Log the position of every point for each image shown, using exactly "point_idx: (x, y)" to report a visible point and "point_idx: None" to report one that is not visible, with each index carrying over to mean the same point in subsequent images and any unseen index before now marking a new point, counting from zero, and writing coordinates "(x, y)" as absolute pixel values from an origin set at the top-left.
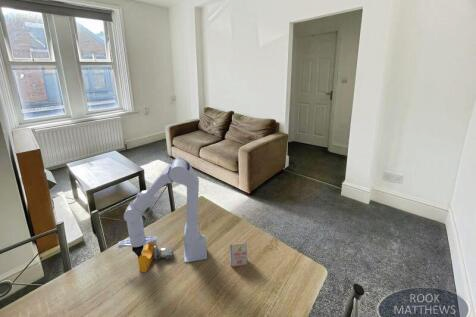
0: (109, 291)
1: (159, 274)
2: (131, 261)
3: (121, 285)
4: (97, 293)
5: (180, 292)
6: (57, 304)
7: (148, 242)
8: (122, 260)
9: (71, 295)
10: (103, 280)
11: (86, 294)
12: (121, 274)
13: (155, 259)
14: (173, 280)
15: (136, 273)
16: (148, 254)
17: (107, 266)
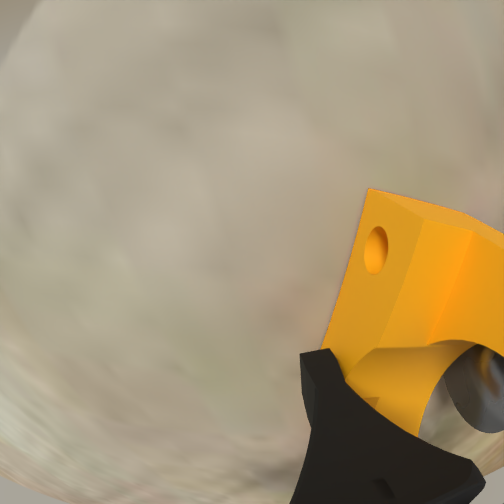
0: (175, 497)
1: (433, 429)
2: (209, 353)
3: (223, 487)
4: (123, 492)
5: (472, 459)
6: (19, 476)
7: None
8: (105, 331)
9: (27, 467)
10: (94, 454)
11: (79, 483)
12: (183, 445)
13: (450, 377)
14: (475, 435)
15: (295, 444)
16: (416, 371)
17: (30, 369)
